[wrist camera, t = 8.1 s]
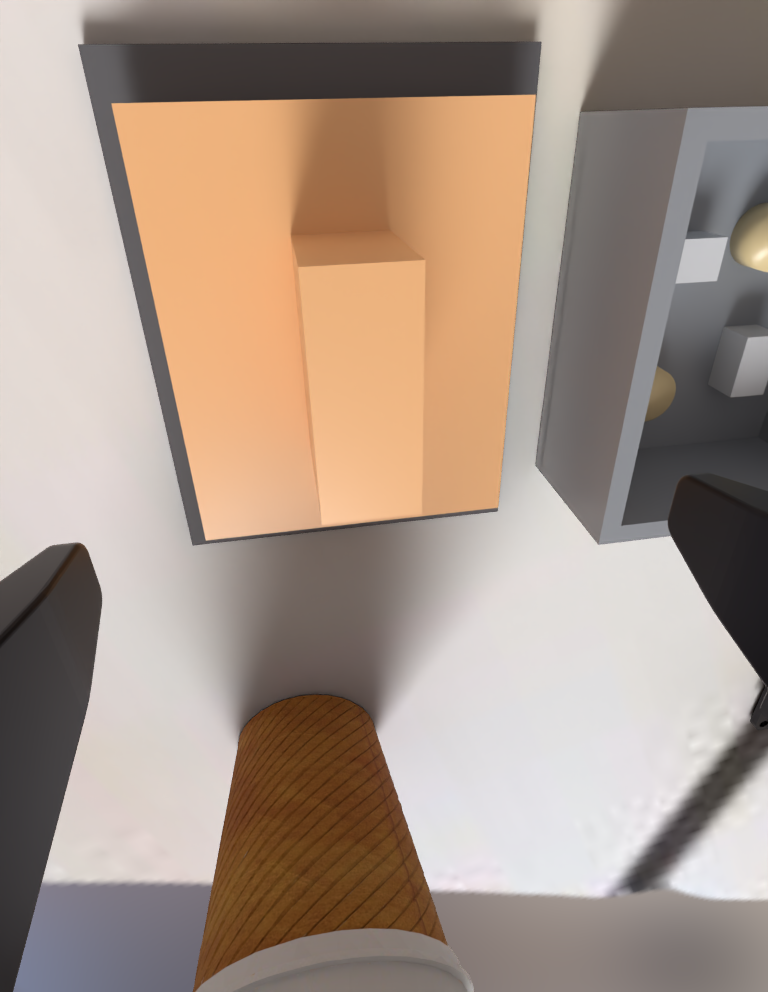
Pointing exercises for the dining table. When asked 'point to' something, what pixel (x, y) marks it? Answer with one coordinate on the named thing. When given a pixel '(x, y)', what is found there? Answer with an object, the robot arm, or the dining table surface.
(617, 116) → the tub
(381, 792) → the disposable coffee cup
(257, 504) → the lid
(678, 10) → the dining table surface
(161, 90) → the mat
